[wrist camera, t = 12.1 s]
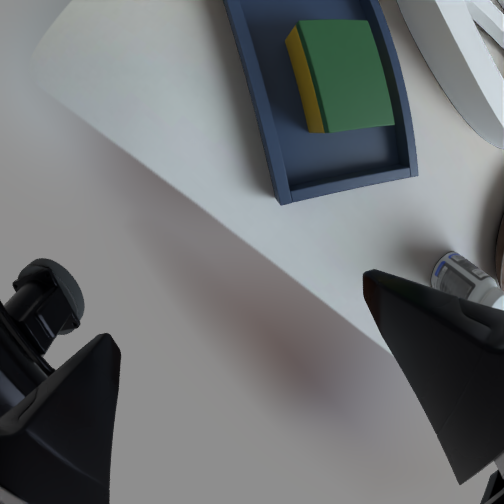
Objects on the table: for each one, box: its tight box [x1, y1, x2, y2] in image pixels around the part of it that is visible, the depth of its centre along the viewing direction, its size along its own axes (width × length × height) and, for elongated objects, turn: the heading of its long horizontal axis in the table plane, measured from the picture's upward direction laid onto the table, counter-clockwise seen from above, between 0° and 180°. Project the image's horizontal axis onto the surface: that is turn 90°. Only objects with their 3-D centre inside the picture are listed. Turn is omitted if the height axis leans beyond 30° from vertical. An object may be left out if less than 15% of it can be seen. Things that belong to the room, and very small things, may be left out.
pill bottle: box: [431, 252, 504, 310], centre depth 20 cm, size 5×5×8 cm
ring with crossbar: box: [397, 0, 504, 149], centre depth 11 cm, size 28×28×5 cm
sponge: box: [285, 19, 395, 133], centre depth 14 cm, size 4×7×4 cm, turn 14°
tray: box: [223, 0, 418, 205], centre depth 14 cm, size 11×22×2 cm, turn 14°
